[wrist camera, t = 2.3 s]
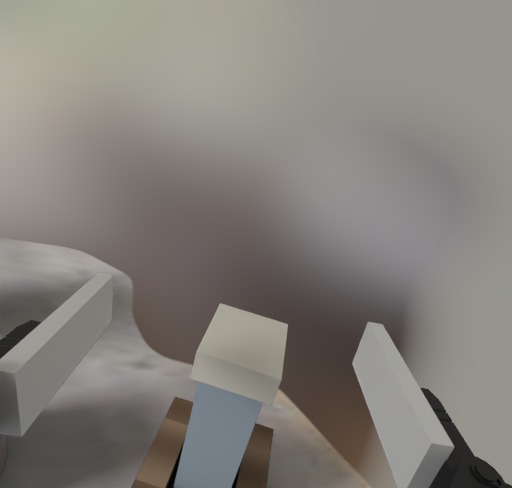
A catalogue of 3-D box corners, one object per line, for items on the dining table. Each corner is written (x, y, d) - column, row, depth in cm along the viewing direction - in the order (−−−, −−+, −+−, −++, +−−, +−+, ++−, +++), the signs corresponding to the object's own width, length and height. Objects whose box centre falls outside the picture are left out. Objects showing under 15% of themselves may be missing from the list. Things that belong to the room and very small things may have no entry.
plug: (218, 540, 28) (281, 379, 20) (159, 519, 28) (196, 351, 20) (233, 474, 33) (287, 324, 25) (182, 457, 33) (220, 303, 25)
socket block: (238, 598, 26) (256, 564, 23) (113, 552, 26) (117, 515, 24) (259, 462, 36) (273, 429, 33) (168, 431, 36) (175, 396, 34)
